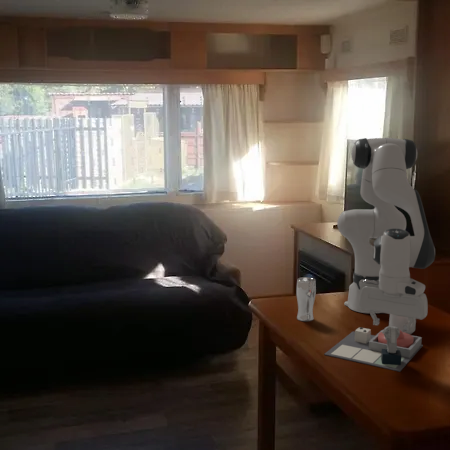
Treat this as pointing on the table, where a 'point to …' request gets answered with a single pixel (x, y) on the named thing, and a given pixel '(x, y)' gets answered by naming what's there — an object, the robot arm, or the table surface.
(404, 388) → the table surface
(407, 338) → the dome
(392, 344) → the watch
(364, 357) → the game board
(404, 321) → the mug
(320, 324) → the table surface
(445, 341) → the table surface
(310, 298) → the beer glass
